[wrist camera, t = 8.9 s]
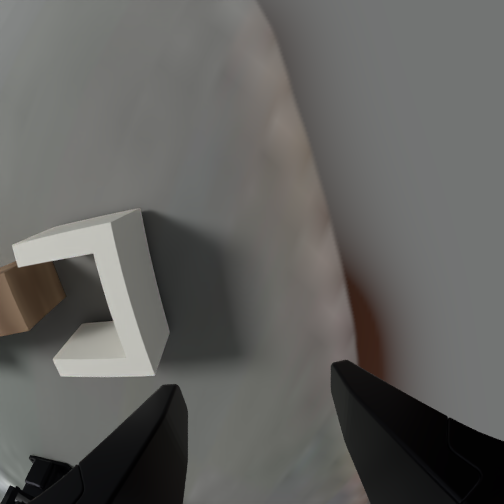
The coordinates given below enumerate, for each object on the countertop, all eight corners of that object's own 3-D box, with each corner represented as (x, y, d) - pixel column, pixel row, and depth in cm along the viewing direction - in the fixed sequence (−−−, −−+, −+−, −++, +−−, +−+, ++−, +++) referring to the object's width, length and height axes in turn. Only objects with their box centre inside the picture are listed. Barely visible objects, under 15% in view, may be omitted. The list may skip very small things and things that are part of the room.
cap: (170, 332, 19) (155, 375, 14) (87, 338, 19) (60, 376, 14) (140, 207, 16) (110, 222, 12) (53, 226, 16) (11, 245, 12)
